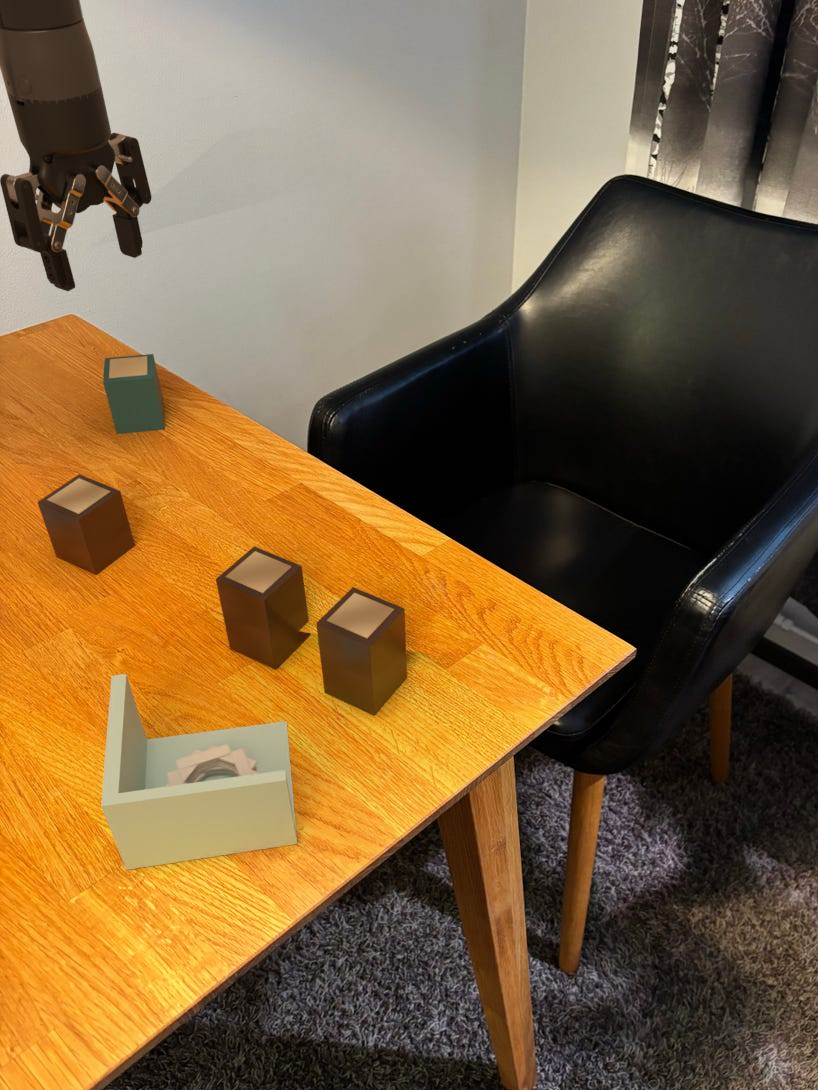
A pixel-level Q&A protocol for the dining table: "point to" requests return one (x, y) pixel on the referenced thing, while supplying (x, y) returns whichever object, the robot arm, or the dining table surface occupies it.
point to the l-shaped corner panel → (193, 788)
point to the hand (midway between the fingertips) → (99, 271)
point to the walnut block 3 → (363, 650)
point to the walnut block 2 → (264, 606)
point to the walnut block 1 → (87, 523)
